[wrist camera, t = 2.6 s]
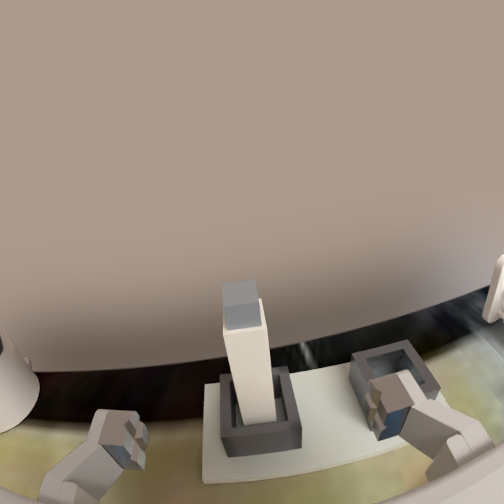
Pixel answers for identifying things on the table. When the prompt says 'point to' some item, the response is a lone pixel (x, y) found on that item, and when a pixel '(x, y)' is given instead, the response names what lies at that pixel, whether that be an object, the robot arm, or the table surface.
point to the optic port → (389, 369)
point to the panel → (289, 428)
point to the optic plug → (248, 352)
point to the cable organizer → (495, 294)
